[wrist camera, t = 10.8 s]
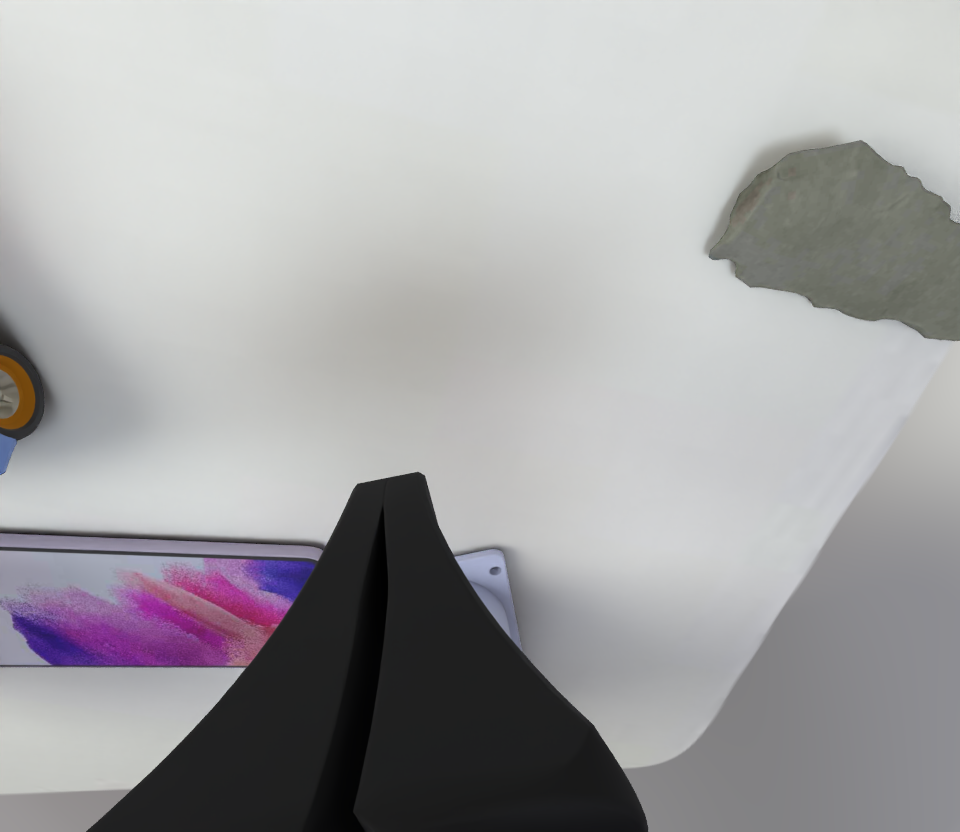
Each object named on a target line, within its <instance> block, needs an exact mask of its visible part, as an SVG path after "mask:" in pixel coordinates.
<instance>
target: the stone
mask: <svg viewBox="0 0 960 832" xmlns="http://www.w3.org/2000/svg"><path fill="white" fill-rule="evenodd" d="M950 211H951V208H950V205H949V204H947V203H946V202H944V201H943V199H942V197H941V196H938V195H936V194H934V193H932V192H929V191H927V190H926V189H925V188H924V187H923V186H922V184H921V180H920V179H918V178H915V177H911V176H908V175H907V173H906V171H905V170H904V168H903V167H901V166H894V165H892V164H890V163H888V162H887V161H885V160H884V159H883V158H882V157H881V156H879V155H878V154H877V153H876V152H875V151H874V150H873V149H872V148H871V147H870V146H869V145H868V144H867V143H865V142H863V141H862V140H860V141H856V142H851V143H846V144H842V145H837V146H832V147H828V148H822V149H811V150H804V151H799V152H794V153H790V154H788V155H787V156H786V157H784V158H783V159H782V160H781V161H780V162H778V163H777V164H776V165H774V166H773V167H772V168H770V169H769V170H766V171H764V172H761V173H760V174H758V175H757V176H756V178H755V179H754V180H753V181H752V183H751V184H750V185H749V187H747V188H746V189H745V190H744V191H743V192H742V193H741V194H740V195H739V197H738V199H737V202H736V204H735V206H734V208H733V210H732V213H731V215H730V223H729V226H728V229H727V231H726V232H725V234H724V236H723V237H722V238H721V240H720V241H719V242H718V243H717V244H716V245H715V246H714V247H713V248H712V249H711V251H710V253H709V258H711V259H713V260H719V259H728V260H731V261H732V262H734V263H735V265H736V272H735V275H736V277H737V278H738V279H740V280H742V281H743V282H744V283H745V284H747V285H748V286H749V287H763V288H769V289H775V290H781V291H788V292H793V293H797V294H800V295H802V296H805V297H807V298H809V300H810V301H811V303H812V305H813V307H817V308H830V309H837V310H839V311H840V312H842V313H844V314H846V315H848V316H851V317H854V318H858V319H861V320H869V321H877V320H880V319H892V320H899V321H901V322H902V323H904V324H906V325H908V326H910V327H911V328H913V329H915V330H917V331H918V332H919V333H920V334H921V335H922V336H923V337H924V338H929V339H939V340H951V341H960V224H959V223H955V222H954V221H952V220H951V219H950Z"/></svg>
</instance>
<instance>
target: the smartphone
mask: <svg viewBox="0 0 960 832" xmlns="http://www.w3.org/2000/svg"><path fill="white" fill-rule="evenodd" d="M322 552H323V550H321V549H319V548H317V547H312V546H294V545H270V544H245V543H221V542H197V541H172V540H148V539H124V538H99V537H75V536H51V535H26V534H2V533H0V667H93V668H247V666H248V665H249V664H250V663H251V661H252V660H253V659H254V658H255V656H256V655H257V654H258V652H259V651H260V650H261V648H262V647H263V646H264V644H265V643H266V641H267V640H268V639H269V637H270V636H271V635H272V633H273V632H274V630H275V629H276V628H277V626H278V625H279V623H280V622H281V620H282V619H283V617H284V616H285V614H286V613H287V611H288V610H289V608H290V607H291V605H292V603H293V602H294V600H295V599H296V597H297V595H298V594H299V592H300V590H301V589H302V587H303V585H304V584H305V582H306V581H307V579H308V577H309V576H310V574H311V572H312V571H313V569H314V567H315V565H316V563H317V562H318V560H319V558H320V556H321V554H322Z"/></svg>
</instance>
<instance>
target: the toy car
mask: <svg viewBox="0 0 960 832" xmlns="http://www.w3.org/2000/svg"><path fill="white" fill-rule="evenodd" d="M43 412H44V393H43V388H42V385H41V382H40V379H39V377H38V375H37V373H36V371H35V370H34V368H33V367H32V365H31V364H30V363H29V361H28V360H27V359H26V358H25V357H24V356H23V355H21V354H20V353H19V352H17V351H16V350H14V349H12V348H10V347H8V346H5V345H0V475H1V474H3V473H5V471H6V468H7V465H8V463H9V460H10V457H11V454H12V452H13V449H14V447H15V445H16V444H17V440H20V439H23V438H25V437H26V436H28V435H30V434H31V433H32V432H33V431H34V430H35V429H36V428H37V427H38V425H39V423H40V421H41V419H42V416H43Z"/></svg>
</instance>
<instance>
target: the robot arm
mask: <svg viewBox="0 0 960 832" xmlns="http://www.w3.org/2000/svg"><path fill="white" fill-rule="evenodd" d="M493 567H497V568H493ZM86 832H648V825H647V820H646V817H645V814H644V812H643V809H642V806H641V804H640V802H639V800H638V798H637V795H636V793H635V791H634V789H633V787H632V786H631V784H630V782H629V780H628V778H627V777H626V775H625V773H624V772H623V770H622V768H621V767H620V765H619V764H618V762H617V760H616V759H615V757H614V756H613V754H612V753H611V751H610V750H609V748H608V747H607V745H606V744H605V742H604V741H603V739H602V738H601V736H600V735H599V733H598V731H597V730H596V728H595V727H594V725H593V724H592V723H591V722H590V721H589V720H588V719H587V718H586V717H584V716H583V715H582V714H581V713H580V712H579V711H578V710H577V709H576V708H575V707H574V706H573V705H572V704H571V703H570V702H569V701H568V700H567V699H566V698H565V697H564V696H563V695H562V694H561V693H560V692H559V691H558V690H556V688H555V687H554V686H553V685H552V684H551V683H550V682H549V681H548V680H547V679H546V678H545V677H544V676H543V675H542V674H541V673H540V672H539V670H538V669H537V668H536V667H535V666H534V665H533V664H532V663H531V662H530V660H529V659H528V658H527V657H526V656H525V655H524V653H523V652H522V647H521V642H520V637H519V631H518V626H517V621H516V616H515V610H514V605H513V600H512V595H511V589H510V584H509V579H508V573H507V568H506V563H505V558H504V554H503V552H501V551H500V550H497V549H490V550H485V551H480V552H475V553H470V554H465V555H460V556H455V557H454V555H453V554H452V552H451V550H450V548H449V546H448V544H447V542H446V540H445V538H444V536H443V534H442V532H441V530H440V528H439V526H438V522H437V519H436V515H435V511H434V508H433V504H432V500H431V496H430V493H429V489H428V485H427V481H426V478H425V475H423V474H421V473H419V472H415V473H410V474H405V475H400V476H395V477H390V478H385V479H380V480H375V481H369V482H364V483H359V484H357V485H356V486H355V488H354V489H353V491H352V493H351V496H350V498H349V500H348V502H347V504H346V507H345V509H344V511H343V513H342V515H341V517H340V519H339V521H338V523H337V525H336V527H335V529H334V531H333V533H332V535H331V537H330V539H329V541H328V543H327V545H326V547H325V549H324V550H323V552H322V554H321V556H320V558H319V560H318V562H317V563H316V565H315V567H314V569H313V571H312V572H311V574H310V576H309V577H308V579H307V581H306V582H305V584H304V585H303V587H302V589H301V590H300V592H299V594H298V595H297V597H296V599H295V600H294V602H293V603H292V605H291V607H290V608H289V610H288V611H287V613H286V614H285V616H284V617H283V619H282V620H281V622H280V623H279V625H278V626H277V628H276V629H275V630H274V632H273V633H272V635H271V636H270V637H269V639H268V640H267V641H266V643H265V644H264V646H263V647H262V648H261V650H260V651H259V652H258V654H257V655H256V656H255V658H254V659H253V660H252V661H251V663H250V664H249V665H248V666H247V668H246V669H245V670H244V671H243V673H242V674H241V675H240V676H239V678H238V679H237V680H236V681H235V683H234V684H233V685H232V686H231V687H230V689H229V690H228V691H227V692H226V693H225V695H224V696H223V697H222V698H221V699H220V700H219V702H218V703H217V704H216V705H215V706H214V707H213V709H212V710H211V711H210V712H209V713H208V714H207V715H206V716H205V717H204V718H203V719H202V720H201V721H200V723H199V724H198V725H197V726H196V727H195V728H194V729H193V730H192V731H191V732H190V733H189V734H188V735H187V736H186V737H185V738H184V740H183V741H182V742H181V743H180V744H179V745H178V746H177V747H176V748H175V749H174V750H173V751H172V752H171V753H170V754H169V755H168V756H167V757H166V758H165V759H164V760H163V761H162V762H161V763H160V764H159V765H158V766H157V767H156V768H155V769H154V770H153V771H152V772H151V773H150V774H149V775H147V776H146V777H145V778H144V779H143V780H142V781H141V782H140V783H139V784H138V785H137V786H136V787H134V788H133V789H132V790H131V791H130V792H129V793H128V794H127V795H126V796H125V797H124V798H123V799H122V800H120V801H119V802H118V803H117V804H116V805H115V806H114V807H113V808H112V809H111V810H110V811H109V812H107V813H106V815H104V816H103V817H102V818H101V819H100V820H99V821H98V822H97V823H95V824H94V825H93V826H92V827H91V828H90V829H88V830H87V831H86Z"/></svg>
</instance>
